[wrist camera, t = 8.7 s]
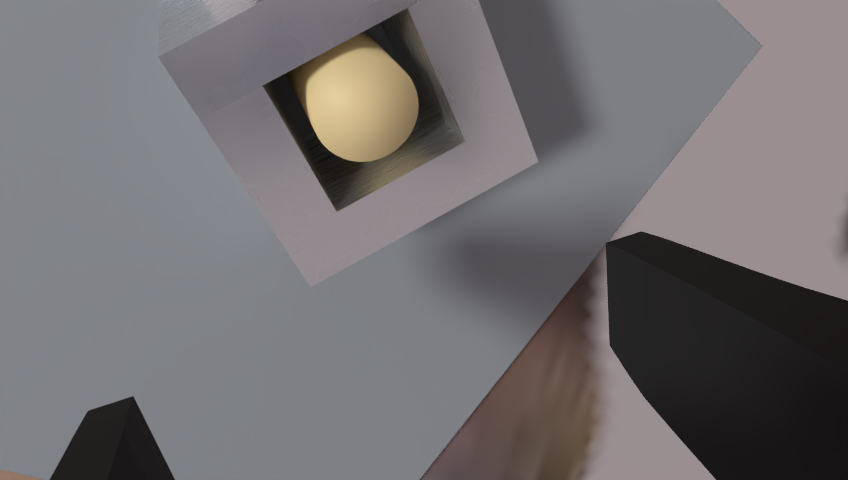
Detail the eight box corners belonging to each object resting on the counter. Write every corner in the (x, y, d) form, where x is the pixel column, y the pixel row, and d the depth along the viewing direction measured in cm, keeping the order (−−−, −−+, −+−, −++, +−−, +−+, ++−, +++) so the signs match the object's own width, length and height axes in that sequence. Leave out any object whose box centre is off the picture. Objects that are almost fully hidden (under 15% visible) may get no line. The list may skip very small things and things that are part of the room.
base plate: (353, 524, 26) (390, 659, 22) (-188, 387, 18) (-293, 558, 14) (733, 35, 21) (875, 87, 17) (226, -451, 13) (257, -581, 9)
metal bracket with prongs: (469, 100, 18) (538, 161, 15) (282, 202, 18) (310, 287, 15) (314, -275, 14) (363, -308, 10) (63, -146, 13) (30, -136, 10)
